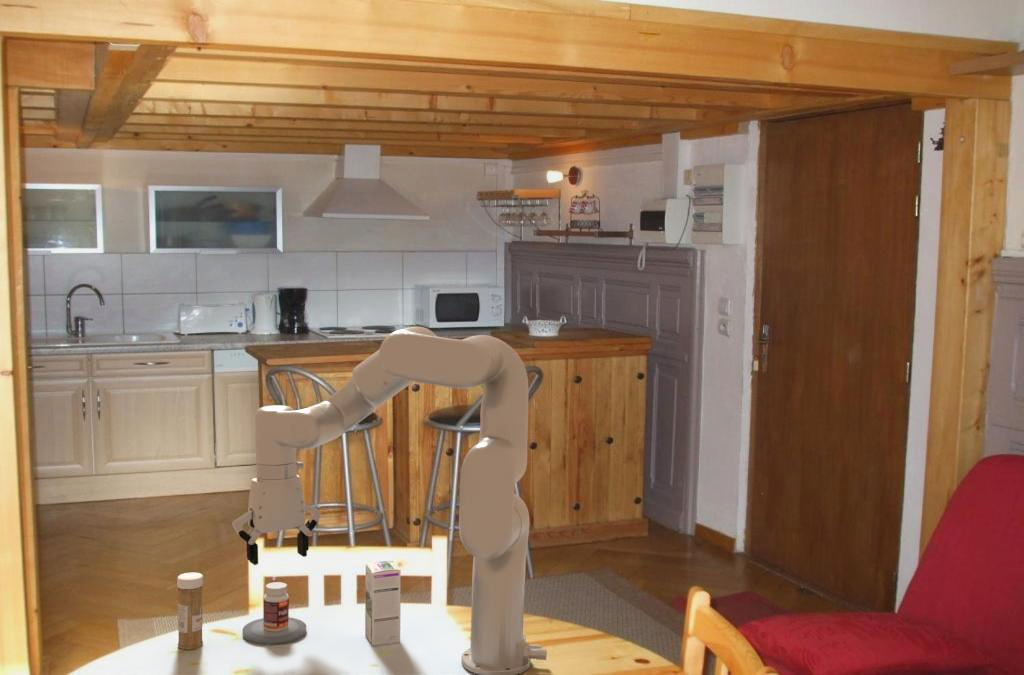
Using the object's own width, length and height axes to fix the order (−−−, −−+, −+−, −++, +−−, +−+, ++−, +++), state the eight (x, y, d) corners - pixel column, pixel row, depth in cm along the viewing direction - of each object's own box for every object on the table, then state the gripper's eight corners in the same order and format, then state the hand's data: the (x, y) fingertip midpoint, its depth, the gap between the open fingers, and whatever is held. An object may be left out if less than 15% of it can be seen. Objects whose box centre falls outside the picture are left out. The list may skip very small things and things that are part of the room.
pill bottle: (282, 633, 196) (282, 590, 195) (259, 630, 197) (259, 588, 196) (292, 624, 201) (293, 582, 200) (269, 621, 202) (270, 580, 201)
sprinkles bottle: (204, 648, 191) (205, 577, 189) (179, 652, 189) (179, 580, 187) (200, 639, 195) (200, 570, 194) (175, 643, 193) (175, 573, 192)
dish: (314, 624, 204) (314, 618, 204) (294, 647, 192) (294, 641, 192) (256, 619, 206) (256, 614, 206) (232, 642, 194) (232, 636, 194)
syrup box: (401, 643, 196) (402, 568, 195) (370, 646, 194) (372, 571, 193) (393, 632, 201) (394, 559, 200) (363, 635, 199) (364, 562, 198)
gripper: (312, 462, 204) (313, 547, 205) (225, 472, 195) (227, 561, 196) (326, 469, 198) (328, 556, 199) (238, 480, 188) (240, 571, 190)
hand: (278, 558), depth 198 cm, fingers open, 9 cm apart
